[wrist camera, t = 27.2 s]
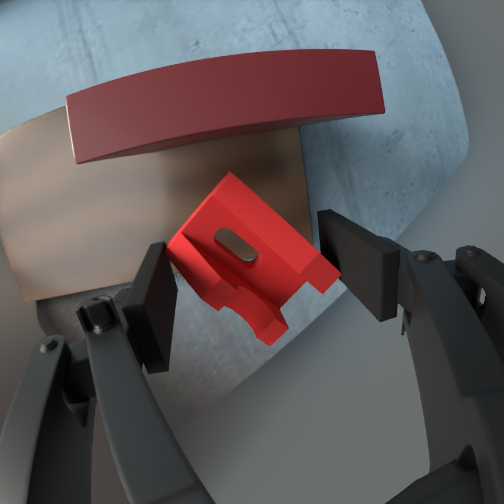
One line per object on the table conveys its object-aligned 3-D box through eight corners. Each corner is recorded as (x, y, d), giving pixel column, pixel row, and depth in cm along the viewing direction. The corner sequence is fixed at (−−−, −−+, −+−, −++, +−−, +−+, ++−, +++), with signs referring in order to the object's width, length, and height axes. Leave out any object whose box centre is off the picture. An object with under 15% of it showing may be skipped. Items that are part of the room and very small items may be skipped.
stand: (310, 242, 30) (313, 245, 29) (28, 298, 27) (24, 302, 27) (284, 61, 24) (287, 58, 23) (-14, 144, 22) (-20, 144, 21)
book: (282, 129, 25) (386, 113, 10) (149, 153, 24) (72, 165, 9) (277, 100, 24) (374, 50, 9) (144, 124, 23) (62, 97, 8)
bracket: (319, 252, 17) (341, 273, 14) (259, 315, 18) (270, 346, 15) (230, 170, 15) (236, 177, 12) (166, 245, 16) (159, 268, 13)
